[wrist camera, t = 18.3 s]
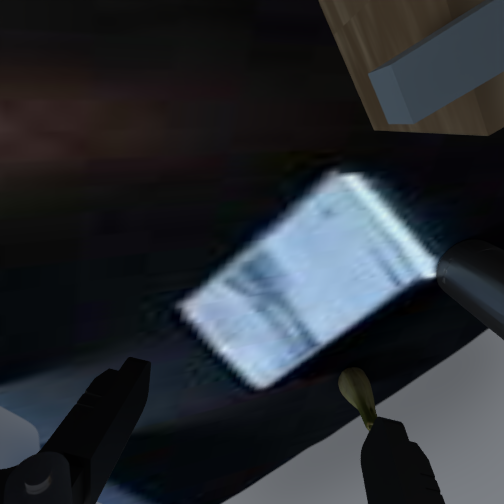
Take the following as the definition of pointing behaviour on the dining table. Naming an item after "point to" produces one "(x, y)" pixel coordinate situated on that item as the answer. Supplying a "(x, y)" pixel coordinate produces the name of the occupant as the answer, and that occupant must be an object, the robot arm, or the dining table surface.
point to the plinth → (398, 40)
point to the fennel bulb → (358, 393)
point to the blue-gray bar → (442, 65)
